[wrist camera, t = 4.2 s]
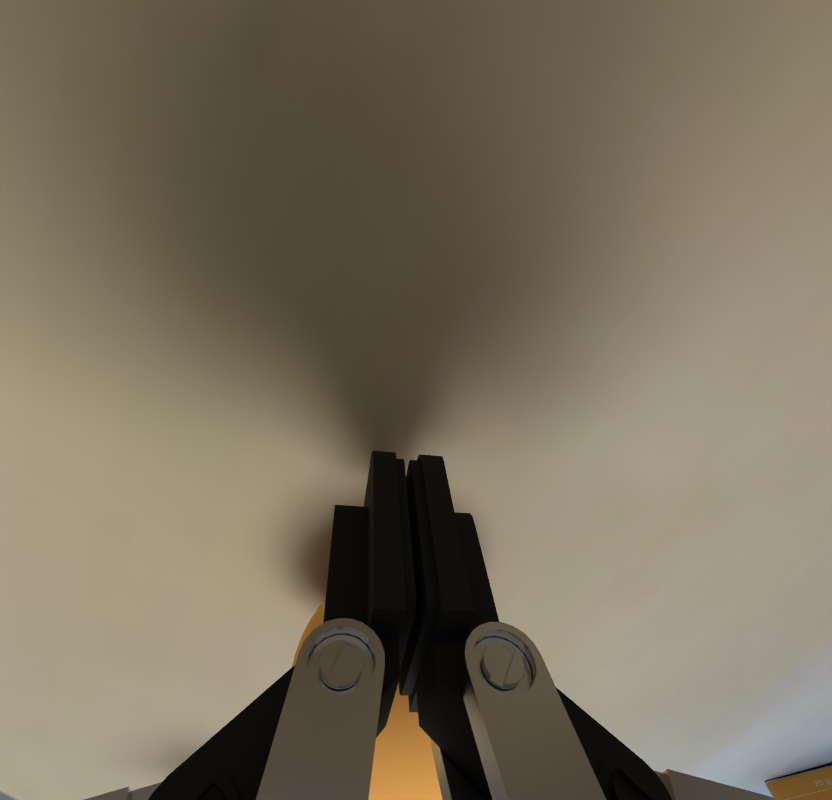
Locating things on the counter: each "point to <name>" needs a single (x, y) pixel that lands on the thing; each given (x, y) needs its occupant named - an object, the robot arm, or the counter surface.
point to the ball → (397, 749)
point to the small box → (803, 785)
